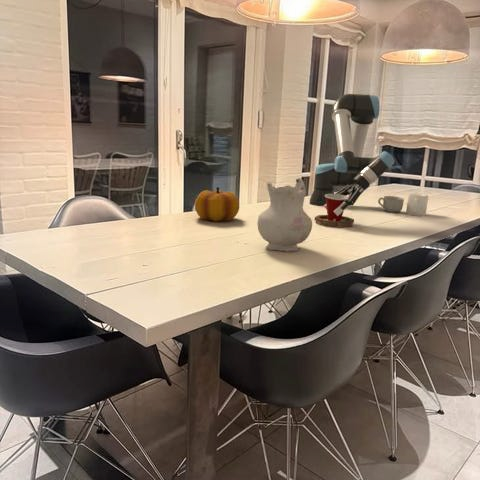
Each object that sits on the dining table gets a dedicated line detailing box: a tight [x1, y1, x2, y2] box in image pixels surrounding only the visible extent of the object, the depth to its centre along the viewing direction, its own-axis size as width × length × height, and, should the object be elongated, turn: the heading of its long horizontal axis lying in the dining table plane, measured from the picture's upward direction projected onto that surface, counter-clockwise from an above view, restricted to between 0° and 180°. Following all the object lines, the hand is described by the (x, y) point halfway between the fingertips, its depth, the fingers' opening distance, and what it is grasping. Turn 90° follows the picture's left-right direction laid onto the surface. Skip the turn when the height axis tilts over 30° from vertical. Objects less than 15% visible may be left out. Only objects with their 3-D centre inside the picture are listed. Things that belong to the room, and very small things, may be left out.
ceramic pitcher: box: [256, 177, 313, 253], centre depth 172 cm, size 22×20×25 cm
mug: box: [405, 192, 429, 217], centre depth 258 cm, size 14×10×11 cm
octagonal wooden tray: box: [314, 214, 355, 229], centre depth 222 cm, size 17×17×4 cm
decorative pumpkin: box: [194, 186, 240, 223], centre depth 218 cm, size 20×22×15 cm
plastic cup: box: [325, 193, 348, 222], centre depth 221 cm, size 11×11×12 cm
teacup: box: [377, 195, 405, 214], centre depth 264 cm, size 14×11×8 cm
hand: (330, 211), depth 220 cm, fingers open, 13 cm apart
